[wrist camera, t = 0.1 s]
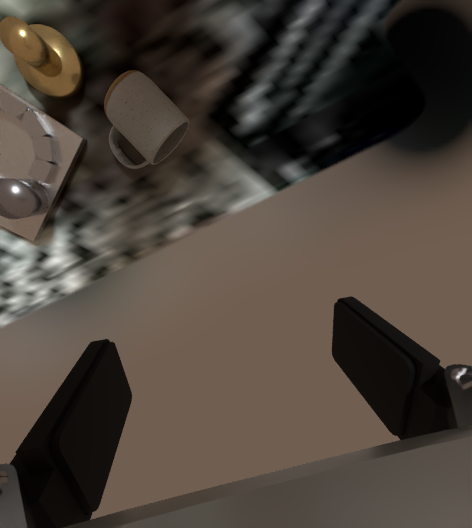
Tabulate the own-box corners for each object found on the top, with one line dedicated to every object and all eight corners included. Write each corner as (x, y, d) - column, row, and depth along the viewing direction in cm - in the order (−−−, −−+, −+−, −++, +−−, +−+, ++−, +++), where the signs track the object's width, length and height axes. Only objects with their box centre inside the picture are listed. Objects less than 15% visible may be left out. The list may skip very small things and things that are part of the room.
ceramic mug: (145, 79, 31) (129, 49, 24) (192, 128, 34) (189, 114, 27) (98, 140, 33) (70, 130, 26) (146, 183, 36) (132, 184, 29)
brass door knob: (36, 17, 28) (-10, -30, 22) (94, 62, 30) (68, 30, 24) (14, 73, 29) (-35, 43, 23) (71, 112, 31) (40, 94, 25)
